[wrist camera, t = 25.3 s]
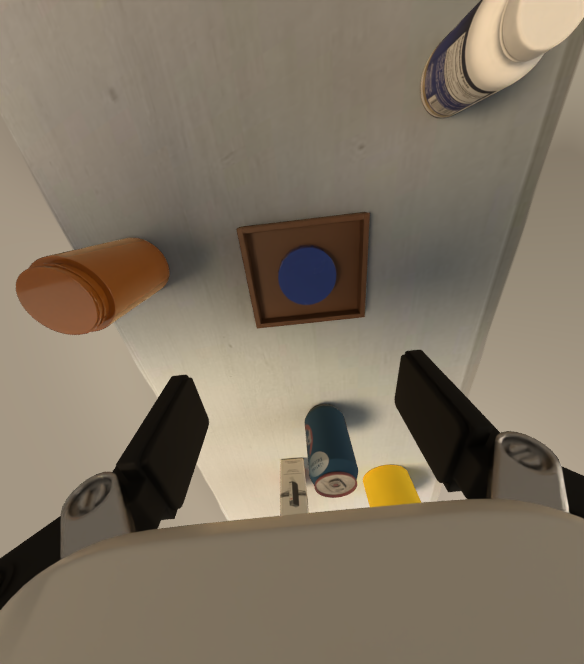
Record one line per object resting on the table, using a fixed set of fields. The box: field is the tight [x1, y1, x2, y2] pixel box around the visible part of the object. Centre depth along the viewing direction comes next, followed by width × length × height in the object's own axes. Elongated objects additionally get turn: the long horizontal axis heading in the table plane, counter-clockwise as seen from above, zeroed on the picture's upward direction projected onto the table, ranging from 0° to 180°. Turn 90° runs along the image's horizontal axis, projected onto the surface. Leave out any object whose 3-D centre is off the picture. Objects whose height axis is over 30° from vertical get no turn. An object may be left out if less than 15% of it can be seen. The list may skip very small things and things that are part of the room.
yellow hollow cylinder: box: [363, 465, 421, 507], centre depth 48 cm, size 10×10×9 cm
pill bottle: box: [421, 0, 584, 118], centre depth 17 cm, size 5×5×10 cm
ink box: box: [280, 458, 309, 516], centre depth 45 cm, size 8×5×12 cm, turn 5°
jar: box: [16, 238, 169, 335], centre depth 23 cm, size 7×7×12 cm
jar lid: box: [278, 245, 336, 305], centre depth 28 cm, size 7×7×2 cm
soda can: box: [305, 404, 358, 498], centre depth 37 cm, size 7×7×12 cm
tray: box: [237, 212, 370, 328], centre depth 28 cm, size 14×12×2 cm
